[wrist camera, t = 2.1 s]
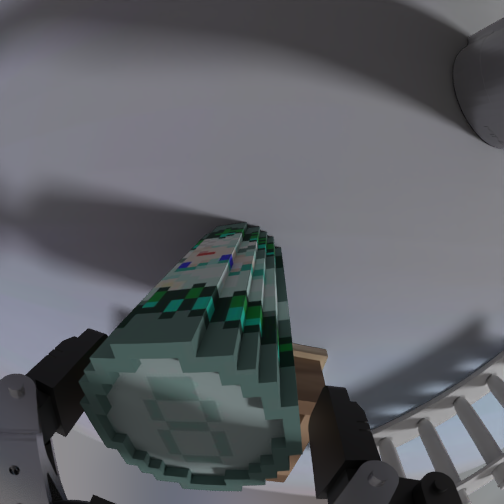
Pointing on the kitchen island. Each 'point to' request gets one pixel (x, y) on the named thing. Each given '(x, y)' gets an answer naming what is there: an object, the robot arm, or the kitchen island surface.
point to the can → (203, 370)
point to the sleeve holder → (305, 392)
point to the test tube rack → (440, 410)
